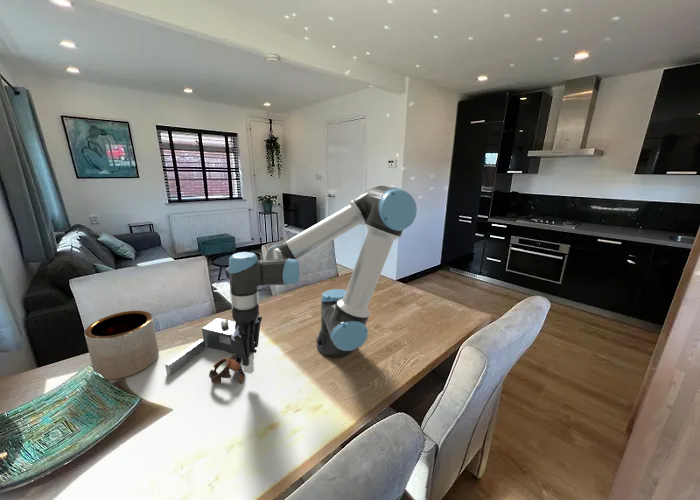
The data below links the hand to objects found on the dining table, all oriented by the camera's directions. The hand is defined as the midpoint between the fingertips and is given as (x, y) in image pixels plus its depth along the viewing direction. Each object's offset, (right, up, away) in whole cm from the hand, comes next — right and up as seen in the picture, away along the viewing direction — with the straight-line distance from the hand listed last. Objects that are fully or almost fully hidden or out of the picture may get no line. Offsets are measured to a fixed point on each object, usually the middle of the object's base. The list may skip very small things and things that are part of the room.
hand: (248, 371), depth 89 cm
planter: (-45, -1, +8) cm, 45 cm away
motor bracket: (-18, 0, +13) cm, 22 cm away
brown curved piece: (-7, -4, +3) cm, 9 cm away
